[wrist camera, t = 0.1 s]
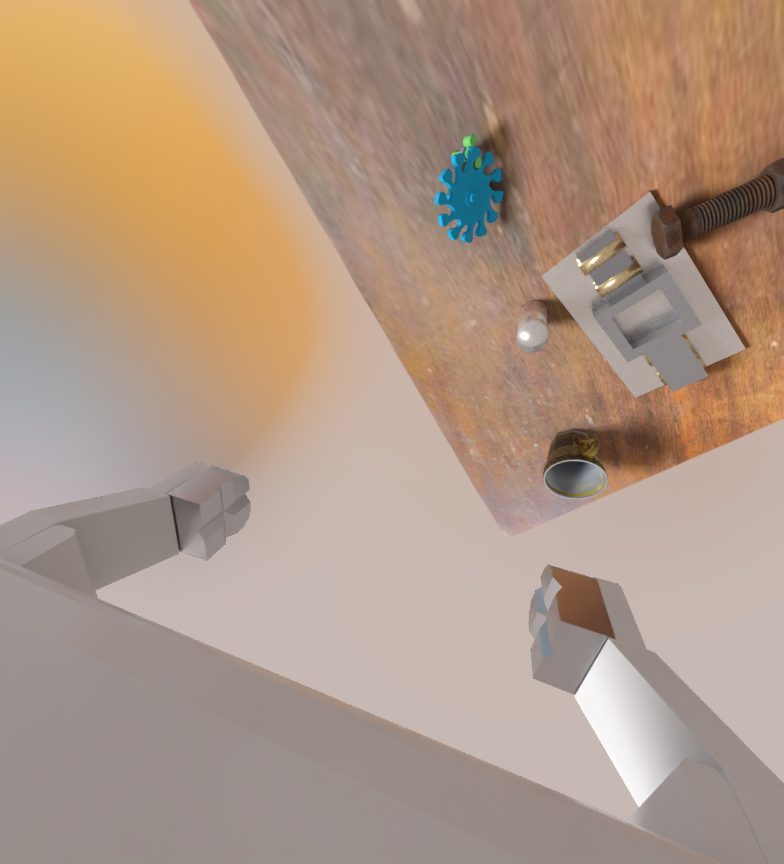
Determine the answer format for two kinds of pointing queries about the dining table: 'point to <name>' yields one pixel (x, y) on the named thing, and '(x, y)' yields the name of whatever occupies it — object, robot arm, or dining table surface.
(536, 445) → the dining table surface
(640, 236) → the gray metal plate
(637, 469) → the dining table surface
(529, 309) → the silver upright cylinder
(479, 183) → the gear
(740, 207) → the bolt
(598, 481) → the ceramic cup
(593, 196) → the dining table surface
